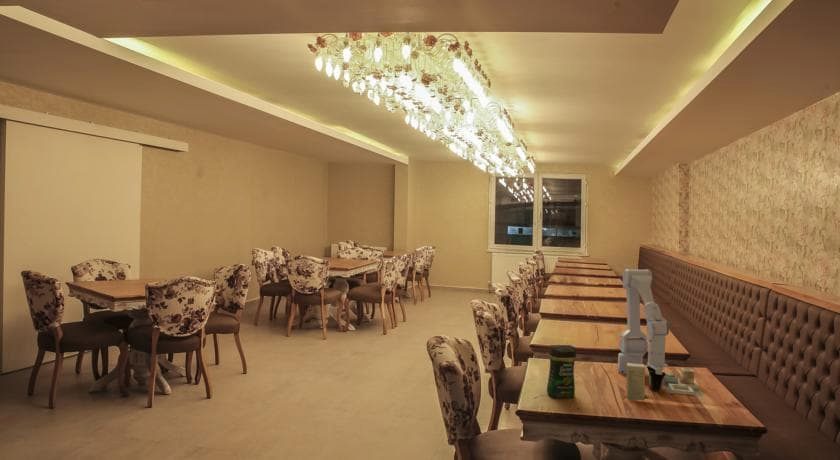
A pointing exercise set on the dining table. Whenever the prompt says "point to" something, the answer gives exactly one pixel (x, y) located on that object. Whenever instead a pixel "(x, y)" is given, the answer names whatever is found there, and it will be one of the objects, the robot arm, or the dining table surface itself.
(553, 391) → the coffee jar
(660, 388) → the walnut block
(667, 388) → the grey compartment tray
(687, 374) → the beech block
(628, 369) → the skincare box
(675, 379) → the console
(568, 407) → the dining table surface
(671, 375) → the button
